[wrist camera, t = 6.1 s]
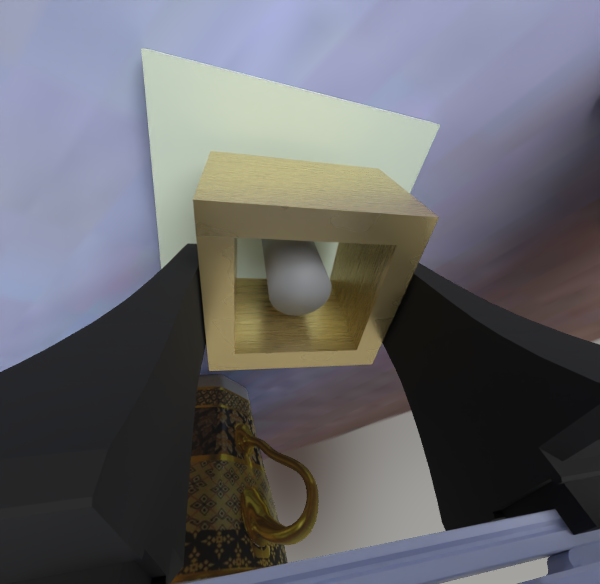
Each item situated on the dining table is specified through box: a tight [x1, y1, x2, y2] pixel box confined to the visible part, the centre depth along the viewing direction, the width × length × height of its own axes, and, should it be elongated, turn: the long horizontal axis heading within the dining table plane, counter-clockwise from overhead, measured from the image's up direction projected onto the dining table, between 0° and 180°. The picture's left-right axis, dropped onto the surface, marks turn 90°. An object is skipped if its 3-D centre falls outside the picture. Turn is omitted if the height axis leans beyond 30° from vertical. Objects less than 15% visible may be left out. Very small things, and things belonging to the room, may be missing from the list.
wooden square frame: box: [193, 151, 439, 371], centre depth 10 cm, size 6×6×4 cm
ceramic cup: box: [170, 375, 318, 584], centre depth 16 cm, size 13×10×10 cm
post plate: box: [141, 48, 440, 316], centre depth 11 cm, size 10×10×5 cm
